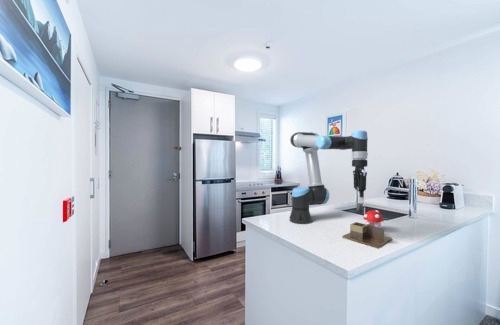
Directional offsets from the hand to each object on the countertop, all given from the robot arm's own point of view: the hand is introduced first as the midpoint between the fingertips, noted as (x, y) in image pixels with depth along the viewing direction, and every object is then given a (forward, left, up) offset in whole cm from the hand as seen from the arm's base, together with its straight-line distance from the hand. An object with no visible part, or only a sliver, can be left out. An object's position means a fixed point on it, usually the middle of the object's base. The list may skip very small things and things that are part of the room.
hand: (359, 202), depth 117 cm
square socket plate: (+3, +3, -20) cm, 20 cm away
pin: (0, 0, -5) cm, 5 cm away
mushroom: (-1, +20, -20) cm, 28 cm away
